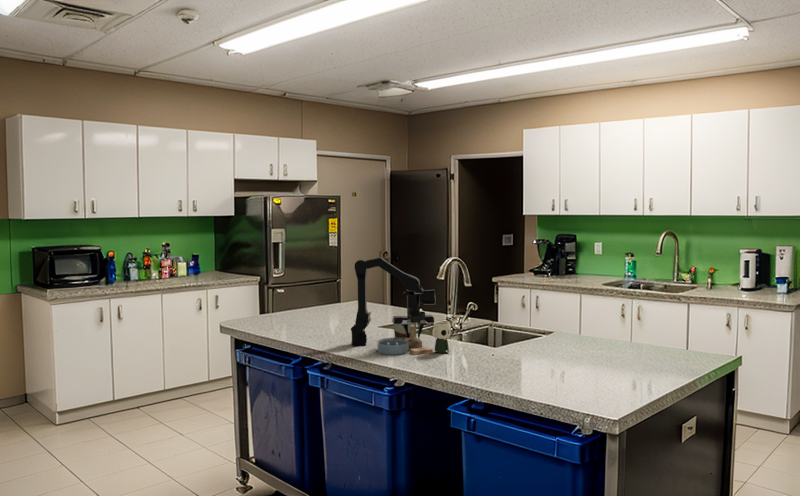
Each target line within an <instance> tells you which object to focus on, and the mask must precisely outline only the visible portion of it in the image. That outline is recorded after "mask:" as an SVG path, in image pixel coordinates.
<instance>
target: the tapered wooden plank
mask: <svg viewBox="0 0 800 496" xmlns="http://www.w3.org/2000/svg"><path fill="white" fill-rule="evenodd" d="M433 351H434V349H433V348H431V347H427V346H425V347H415V348H410V349H409V354H411V355H414V356H418V355H425V354H433V353H434V352H433Z"/></svg>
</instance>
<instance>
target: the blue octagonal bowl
mask: <svg viewBox="0 0 800 496" xmlns="http://www.w3.org/2000/svg"><path fill="white" fill-rule="evenodd" d="M376 349H377V352H378V353H379V354H382V355H387V356H399V355H405V354H407V353H408V352H410V349H409V345H408V342H407V341H405V339H402V340H401V339H398V338H394V339H382V340H378V341H377V343H376Z"/></svg>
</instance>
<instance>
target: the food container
mask: <svg viewBox="0 0 800 496" xmlns="http://www.w3.org/2000/svg"><path fill="white" fill-rule="evenodd" d="M400 316H401V317H402V318H407V315H406V316H405V315H403V316H402V315H400ZM409 320H410V319H409ZM391 323H393V318H392V320H391ZM407 324H408V333H409V338H407V335H406V332H405V329H404V327H403V325H401V324H394V323H393V324H392V325H393V331H394V332H393V333H394V339H410V337H411V329H410V325H415V326H416V323H411V322H407Z"/></svg>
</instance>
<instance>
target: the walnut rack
mask: <svg viewBox="0 0 800 496" xmlns="http://www.w3.org/2000/svg"><path fill="white" fill-rule="evenodd" d="M404 341H407V342H408V345H409V348H410V349H412V348H423V341H422V340H421V339H420V337H419V338H418V337H416V341H414V342H412V341H411V338H404Z"/></svg>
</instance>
